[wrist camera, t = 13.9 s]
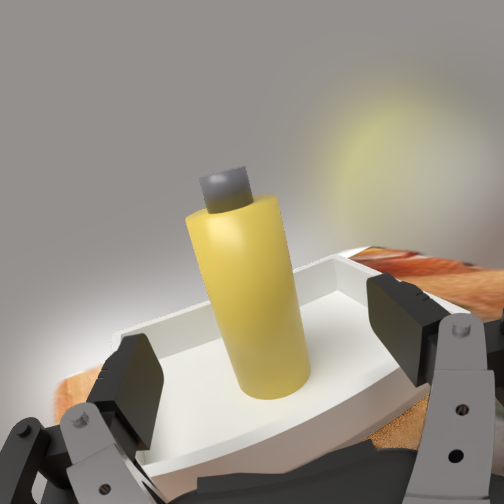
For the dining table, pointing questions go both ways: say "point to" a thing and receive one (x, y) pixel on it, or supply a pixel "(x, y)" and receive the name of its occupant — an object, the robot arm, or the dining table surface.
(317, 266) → the tray
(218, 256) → the squeeze bottle
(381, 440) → the dining table surface
